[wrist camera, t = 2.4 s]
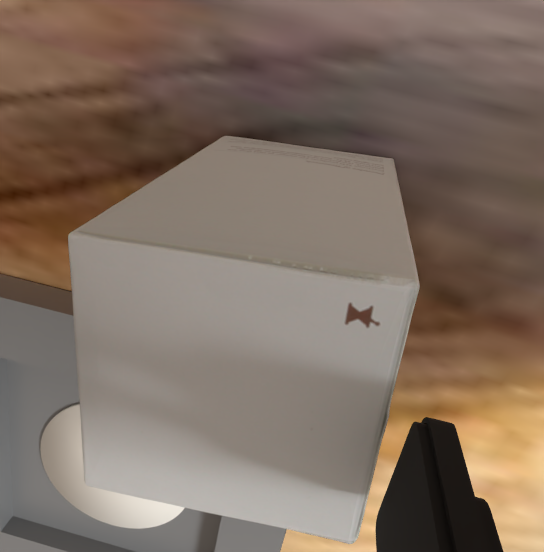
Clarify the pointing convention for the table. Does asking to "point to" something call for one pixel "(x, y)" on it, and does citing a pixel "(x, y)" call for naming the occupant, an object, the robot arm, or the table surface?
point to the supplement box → (245, 333)
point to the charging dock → (77, 452)
